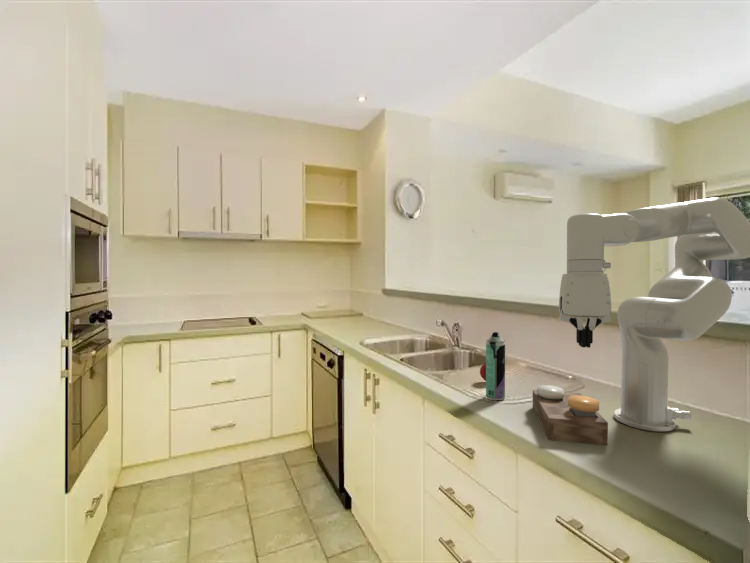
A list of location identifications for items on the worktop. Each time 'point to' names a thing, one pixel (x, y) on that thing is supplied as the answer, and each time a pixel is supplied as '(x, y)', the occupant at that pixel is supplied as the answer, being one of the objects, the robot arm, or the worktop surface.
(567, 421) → the button panel
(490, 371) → the spray can
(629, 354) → the robot arm
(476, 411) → the worktop surface
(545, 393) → the white button
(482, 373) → the onion
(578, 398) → the orange button
